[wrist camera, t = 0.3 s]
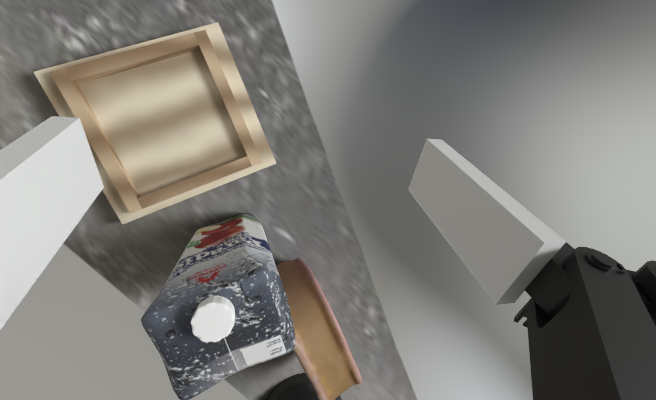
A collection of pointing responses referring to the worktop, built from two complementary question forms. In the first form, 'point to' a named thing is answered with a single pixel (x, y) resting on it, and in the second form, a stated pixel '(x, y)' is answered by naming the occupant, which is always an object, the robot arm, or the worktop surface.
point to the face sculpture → (317, 333)
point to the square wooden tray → (162, 118)
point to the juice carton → (220, 307)
